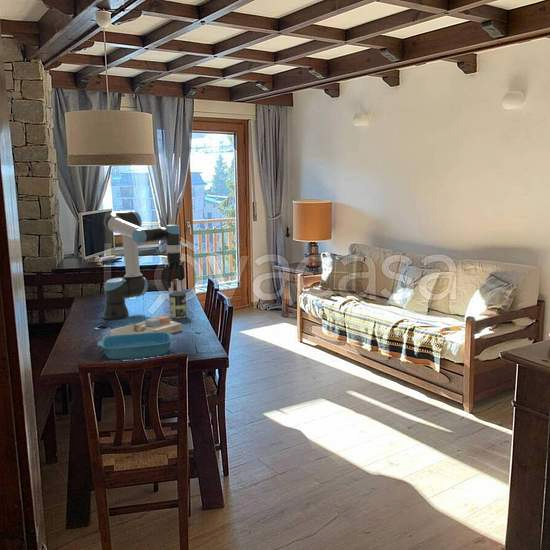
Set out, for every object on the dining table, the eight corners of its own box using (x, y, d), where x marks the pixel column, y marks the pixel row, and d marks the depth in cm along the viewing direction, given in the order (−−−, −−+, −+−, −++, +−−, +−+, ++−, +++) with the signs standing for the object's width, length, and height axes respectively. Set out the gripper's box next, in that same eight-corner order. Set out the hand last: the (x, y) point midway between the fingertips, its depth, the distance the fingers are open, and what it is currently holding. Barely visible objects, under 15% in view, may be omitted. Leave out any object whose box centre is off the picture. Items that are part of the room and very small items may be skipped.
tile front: (145, 325, 312) (144, 320, 312) (153, 323, 317) (153, 317, 316) (152, 326, 309) (152, 321, 308) (160, 324, 313) (160, 319, 313)
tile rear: (155, 322, 318) (154, 317, 317) (163, 320, 322) (163, 315, 322) (162, 324, 314) (161, 319, 314) (170, 322, 319) (170, 317, 318)
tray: (109, 338, 302) (108, 330, 301) (133, 331, 314) (133, 324, 313) (130, 344, 291) (129, 335, 290) (154, 337, 303) (154, 329, 302)
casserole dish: (97, 363, 262) (96, 348, 260) (99, 349, 283) (98, 335, 282) (177, 356, 271) (176, 342, 270) (173, 343, 292) (172, 330, 291)
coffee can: (189, 314, 353) (188, 292, 350) (183, 318, 343) (182, 296, 340) (173, 314, 355) (172, 292, 352) (167, 317, 345) (166, 295, 342)
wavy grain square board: (133, 331, 315) (132, 324, 314) (158, 324, 329) (157, 318, 328) (156, 337, 303) (156, 330, 302) (181, 330, 317) (181, 323, 316)
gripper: (165, 254, 310) (167, 295, 314) (190, 250, 324) (191, 290, 328) (156, 253, 314) (158, 294, 318) (181, 249, 329) (182, 288, 333)
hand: (175, 292), depth 323 cm, fingers open, 6 cm apart
